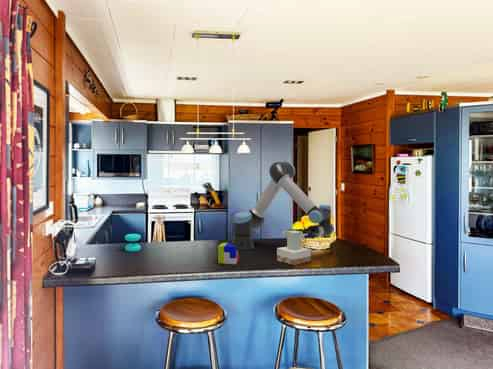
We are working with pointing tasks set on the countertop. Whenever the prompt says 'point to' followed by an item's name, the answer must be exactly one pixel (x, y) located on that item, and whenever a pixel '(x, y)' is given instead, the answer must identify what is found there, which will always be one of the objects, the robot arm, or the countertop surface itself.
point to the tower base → (293, 262)
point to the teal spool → (132, 246)
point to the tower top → (293, 253)
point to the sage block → (294, 240)
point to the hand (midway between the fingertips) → (291, 235)
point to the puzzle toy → (228, 253)
